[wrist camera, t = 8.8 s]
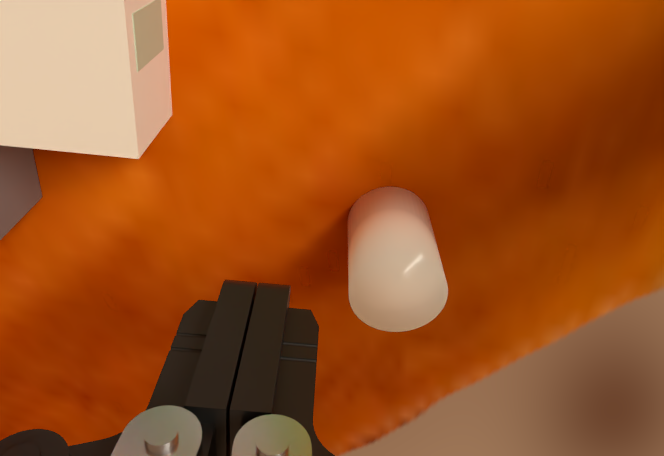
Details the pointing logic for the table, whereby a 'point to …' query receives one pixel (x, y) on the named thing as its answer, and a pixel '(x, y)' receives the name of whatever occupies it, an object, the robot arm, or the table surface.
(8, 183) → the plinth
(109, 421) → the table surface
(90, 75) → the carton
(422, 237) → the cream round-ended cylinder
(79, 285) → the table surface
